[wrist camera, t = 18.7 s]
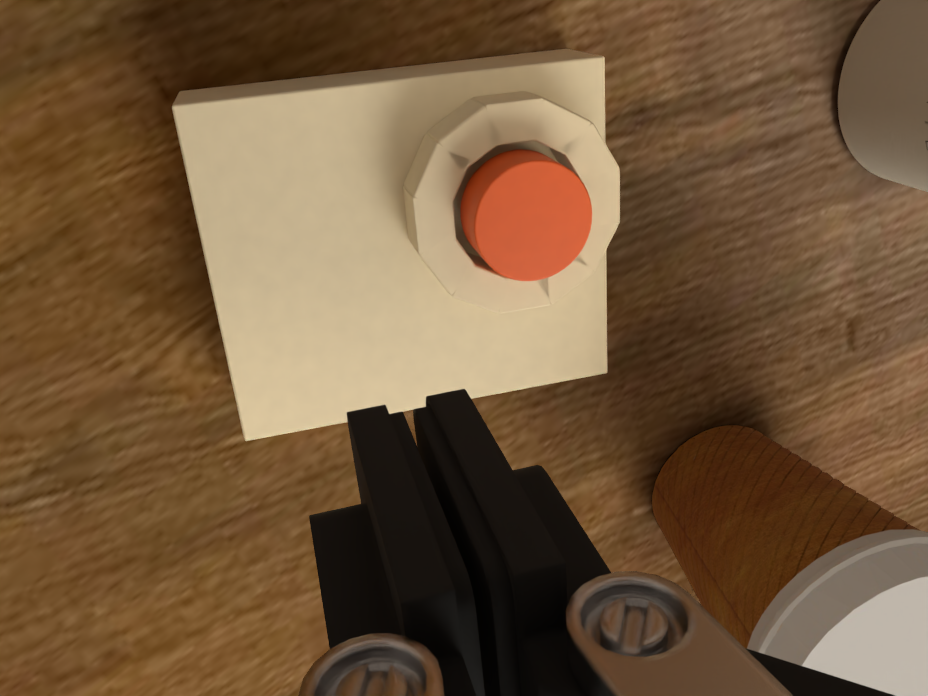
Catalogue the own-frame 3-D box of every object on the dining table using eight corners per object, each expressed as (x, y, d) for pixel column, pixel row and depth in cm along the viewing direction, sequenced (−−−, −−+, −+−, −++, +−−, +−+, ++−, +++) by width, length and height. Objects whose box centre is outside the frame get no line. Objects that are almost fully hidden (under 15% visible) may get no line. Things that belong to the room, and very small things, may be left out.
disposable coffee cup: (846, 447, 39) (1073, 622, 29) (717, 598, 41) (886, 814, 30) (711, 353, 35) (917, 515, 25) (575, 525, 37) (712, 744, 27)
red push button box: (178, 91, 26) (166, 113, 22) (567, 48, 29) (628, 60, 24) (244, 398, 31) (245, 468, 27) (575, 339, 33) (627, 394, 29)
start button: (455, 157, 25) (469, 169, 23) (570, 141, 25) (591, 152, 24) (464, 272, 26) (478, 290, 25) (573, 255, 27) (594, 272, 25)
